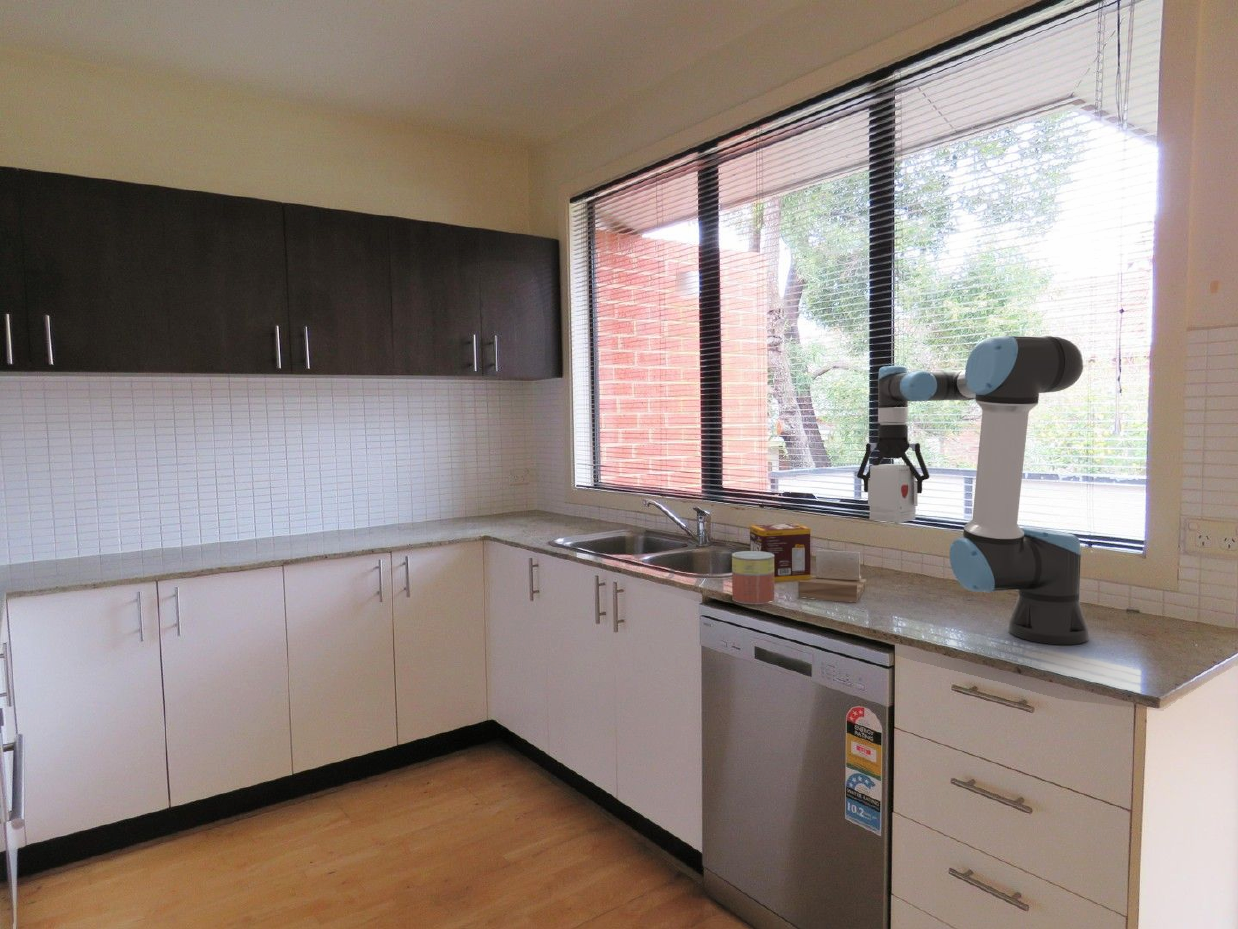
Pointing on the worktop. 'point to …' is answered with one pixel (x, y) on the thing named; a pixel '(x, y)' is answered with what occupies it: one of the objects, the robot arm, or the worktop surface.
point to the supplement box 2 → (892, 493)
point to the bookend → (838, 565)
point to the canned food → (753, 577)
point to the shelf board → (831, 589)
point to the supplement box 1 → (784, 549)
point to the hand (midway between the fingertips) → (892, 504)
